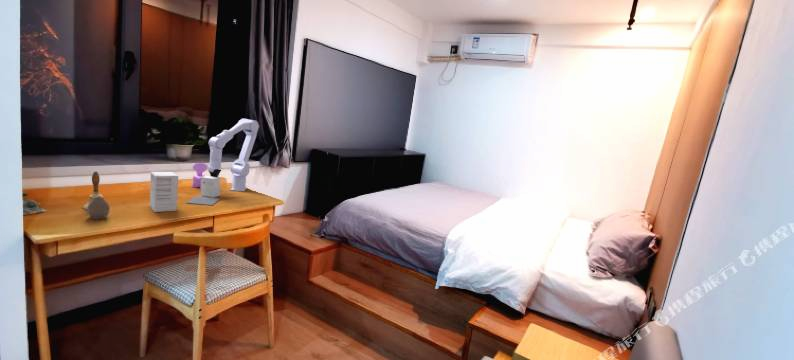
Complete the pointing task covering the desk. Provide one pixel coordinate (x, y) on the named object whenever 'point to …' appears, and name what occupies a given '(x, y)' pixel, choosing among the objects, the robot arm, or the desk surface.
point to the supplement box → (163, 191)
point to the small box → (210, 186)
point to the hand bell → (95, 183)
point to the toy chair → (198, 174)
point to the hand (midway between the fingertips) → (214, 182)
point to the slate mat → (203, 200)
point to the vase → (98, 208)
